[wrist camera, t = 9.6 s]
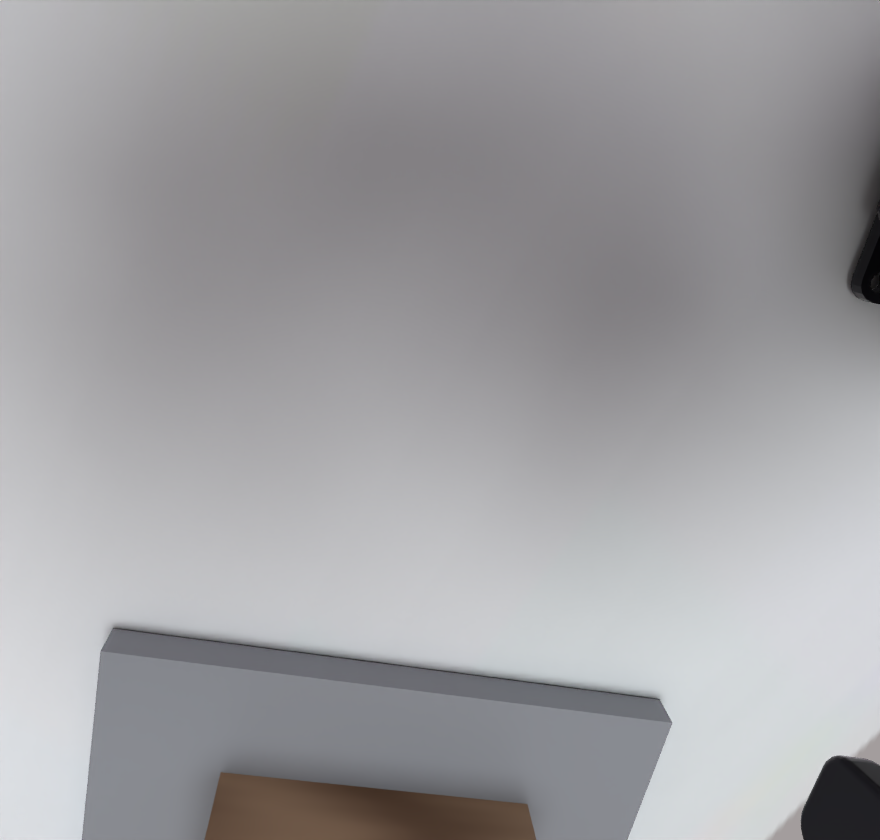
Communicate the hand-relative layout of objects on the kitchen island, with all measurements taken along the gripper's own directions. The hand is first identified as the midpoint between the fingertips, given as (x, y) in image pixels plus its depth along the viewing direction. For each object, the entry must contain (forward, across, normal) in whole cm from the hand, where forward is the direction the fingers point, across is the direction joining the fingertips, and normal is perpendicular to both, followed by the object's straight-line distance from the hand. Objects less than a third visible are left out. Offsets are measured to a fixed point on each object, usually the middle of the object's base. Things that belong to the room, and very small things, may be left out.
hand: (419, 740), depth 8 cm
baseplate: (+12, -2, +16) cm, 20 cm away
